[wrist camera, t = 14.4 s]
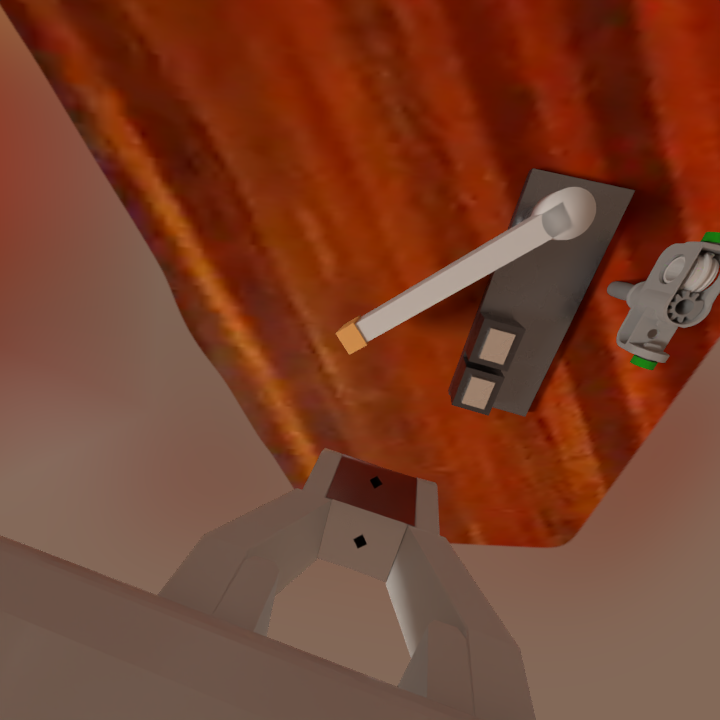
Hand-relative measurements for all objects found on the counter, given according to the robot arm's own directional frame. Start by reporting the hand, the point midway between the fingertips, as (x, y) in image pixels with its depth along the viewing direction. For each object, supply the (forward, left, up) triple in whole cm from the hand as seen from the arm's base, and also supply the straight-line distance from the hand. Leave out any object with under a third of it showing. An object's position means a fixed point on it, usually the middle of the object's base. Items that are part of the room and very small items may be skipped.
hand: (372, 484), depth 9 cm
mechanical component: (-6, +19, -31) cm, 37 cm away
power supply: (+2, +9, -30) cm, 31 cm away
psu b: (+7, +9, -30) cm, 32 cm away
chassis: (-2, +12, -31) cm, 33 cm away
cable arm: (-3, +2, -25) cm, 26 cm away
